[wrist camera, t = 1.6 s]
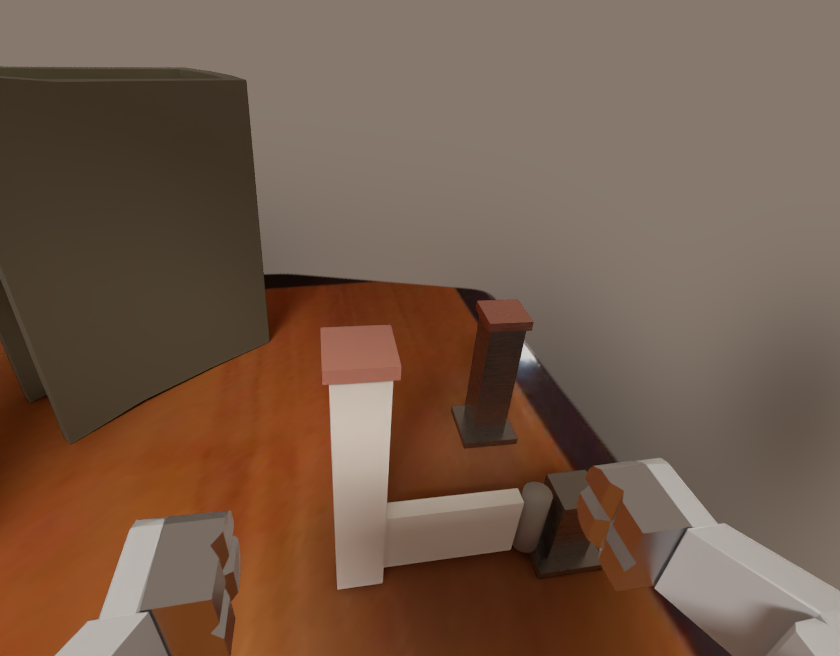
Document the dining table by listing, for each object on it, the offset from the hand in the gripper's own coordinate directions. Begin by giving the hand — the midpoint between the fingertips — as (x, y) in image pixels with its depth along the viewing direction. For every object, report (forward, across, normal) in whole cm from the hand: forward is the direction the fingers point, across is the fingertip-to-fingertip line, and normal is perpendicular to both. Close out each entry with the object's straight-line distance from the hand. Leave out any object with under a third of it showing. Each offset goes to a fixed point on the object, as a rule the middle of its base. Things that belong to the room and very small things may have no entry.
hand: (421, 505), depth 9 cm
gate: (+14, -5, +24) cm, 28 cm away
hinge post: (+14, -14, +24) cm, 31 cm away
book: (+39, +18, +24) cm, 49 cm away
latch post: (+26, -13, +24) cm, 38 cm away
